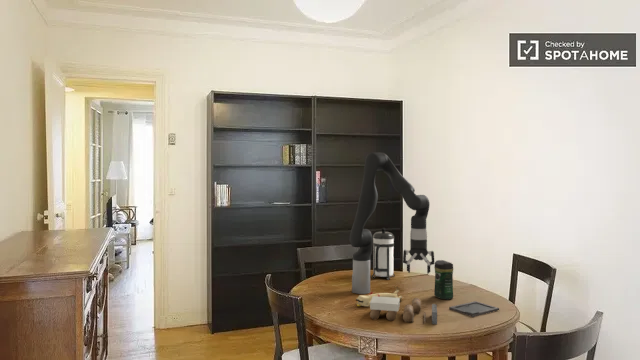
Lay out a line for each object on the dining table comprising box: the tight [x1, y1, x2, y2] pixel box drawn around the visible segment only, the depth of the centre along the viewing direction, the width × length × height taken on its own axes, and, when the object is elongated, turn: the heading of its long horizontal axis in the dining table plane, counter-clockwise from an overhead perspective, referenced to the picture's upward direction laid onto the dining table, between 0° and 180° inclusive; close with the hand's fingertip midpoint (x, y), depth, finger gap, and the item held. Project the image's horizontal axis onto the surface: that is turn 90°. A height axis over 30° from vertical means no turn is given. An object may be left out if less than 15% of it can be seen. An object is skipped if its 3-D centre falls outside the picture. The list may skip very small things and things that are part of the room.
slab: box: [369, 296, 401, 312], centre depth 196 cm, size 12×10×3 cm
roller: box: [411, 297, 422, 315], centre depth 206 cm, size 4×12×4 cm, turn 166°
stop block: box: [431, 303, 438, 325], centre depth 191 cm, size 2×12×5 cm, turn 166°
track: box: [369, 304, 427, 325], centre depth 195 cm, size 23×12×4 cm, turn 76°
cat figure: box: [355, 284, 404, 307], centre depth 215 cm, size 10×9×25 cm
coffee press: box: [371, 227, 396, 281], centre depth 268 cm, size 17×16×30 cm
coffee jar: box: [433, 259, 454, 300], centre depth 226 cm, size 10×8×19 cm
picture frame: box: [448, 300, 500, 318], centre depth 206 cm, size 13×2×18 cm
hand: (418, 272), depth 207 cm, fingers open, 8 cm apart
